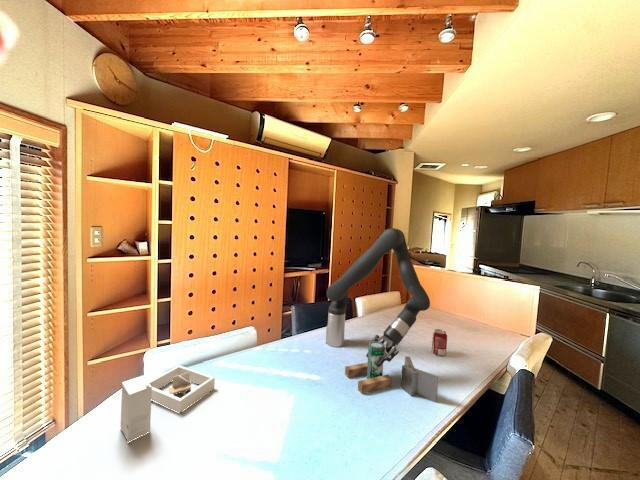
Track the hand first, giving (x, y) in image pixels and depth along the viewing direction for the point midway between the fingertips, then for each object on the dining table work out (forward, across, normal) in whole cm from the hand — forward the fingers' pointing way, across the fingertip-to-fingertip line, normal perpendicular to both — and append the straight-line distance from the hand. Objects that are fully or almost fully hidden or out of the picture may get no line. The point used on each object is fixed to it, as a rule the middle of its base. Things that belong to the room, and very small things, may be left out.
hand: (372, 361), depth 110 cm
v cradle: (-3, +11, +15) cm, 19 cm away
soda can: (-27, -9, +39) cm, 48 cm away
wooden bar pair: (+7, 0, +4) cm, 8 cm away
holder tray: (+58, -15, -46) cm, 75 cm away
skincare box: (+65, 0, -53) cm, 84 cm away
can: (+5, 0, +7) cm, 8 cm away
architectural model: (+57, -14, -45) cm, 74 cm away
